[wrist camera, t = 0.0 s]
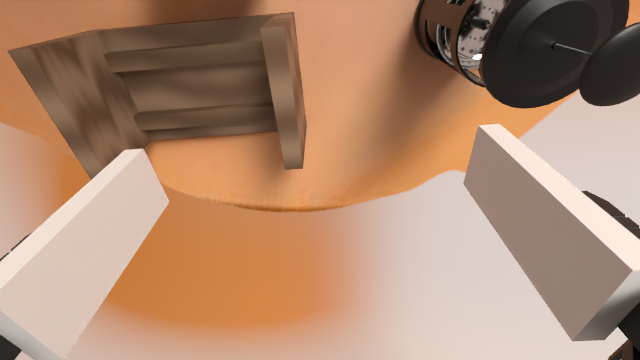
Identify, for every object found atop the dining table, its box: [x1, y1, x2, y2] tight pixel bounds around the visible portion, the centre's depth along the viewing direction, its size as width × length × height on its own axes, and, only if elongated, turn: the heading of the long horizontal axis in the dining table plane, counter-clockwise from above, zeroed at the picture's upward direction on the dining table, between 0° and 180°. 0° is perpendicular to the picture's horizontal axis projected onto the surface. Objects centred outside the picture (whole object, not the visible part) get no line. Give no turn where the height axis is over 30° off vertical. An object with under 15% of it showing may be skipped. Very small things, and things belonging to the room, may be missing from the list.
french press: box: [414, 0, 640, 108], centre depth 24 cm, size 12×9×23 cm
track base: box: [8, 12, 307, 180], centre depth 33 cm, size 14×24×11 cm, turn 95°
